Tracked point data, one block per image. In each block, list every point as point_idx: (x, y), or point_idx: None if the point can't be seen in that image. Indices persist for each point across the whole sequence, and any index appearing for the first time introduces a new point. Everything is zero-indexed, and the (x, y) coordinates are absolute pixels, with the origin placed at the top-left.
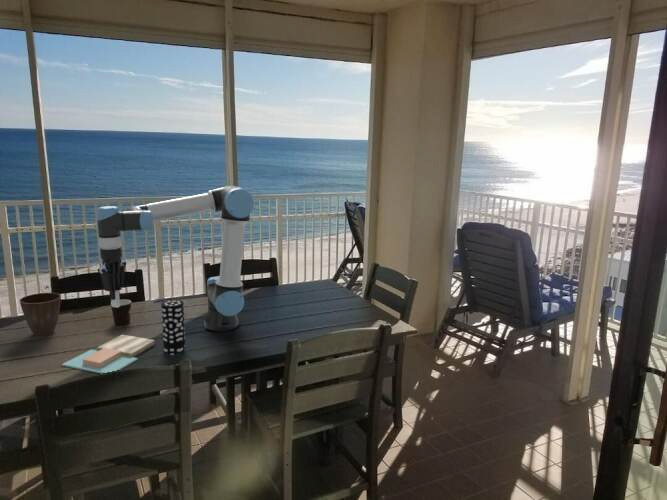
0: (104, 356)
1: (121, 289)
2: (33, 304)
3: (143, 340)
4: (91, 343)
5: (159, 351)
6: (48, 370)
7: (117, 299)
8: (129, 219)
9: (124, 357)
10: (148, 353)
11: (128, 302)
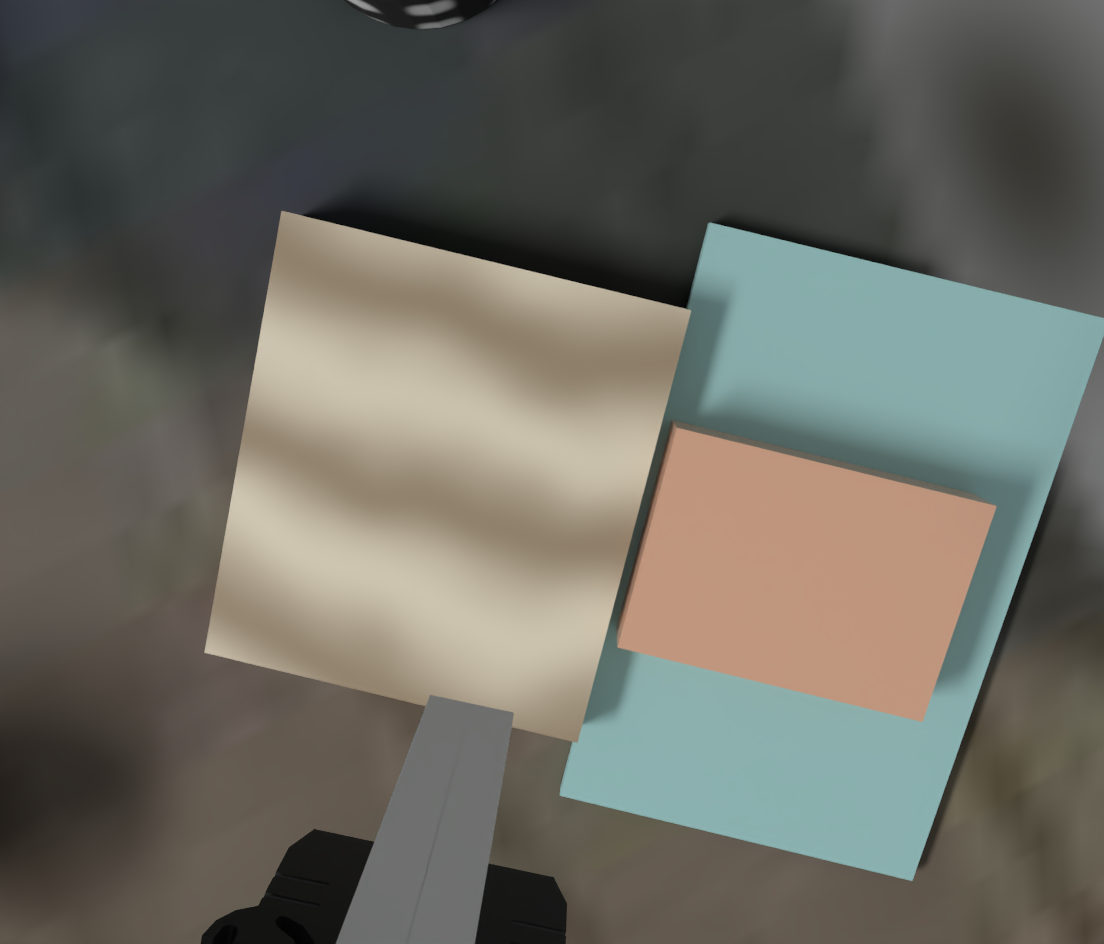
0: (835, 539)
1: (260, 909)
2: None
3: (319, 338)
4: None
5: (469, 74)
6: (1009, 928)
7: (470, 810)
8: None
9: (710, 372)
10: (538, 178)
11: None
